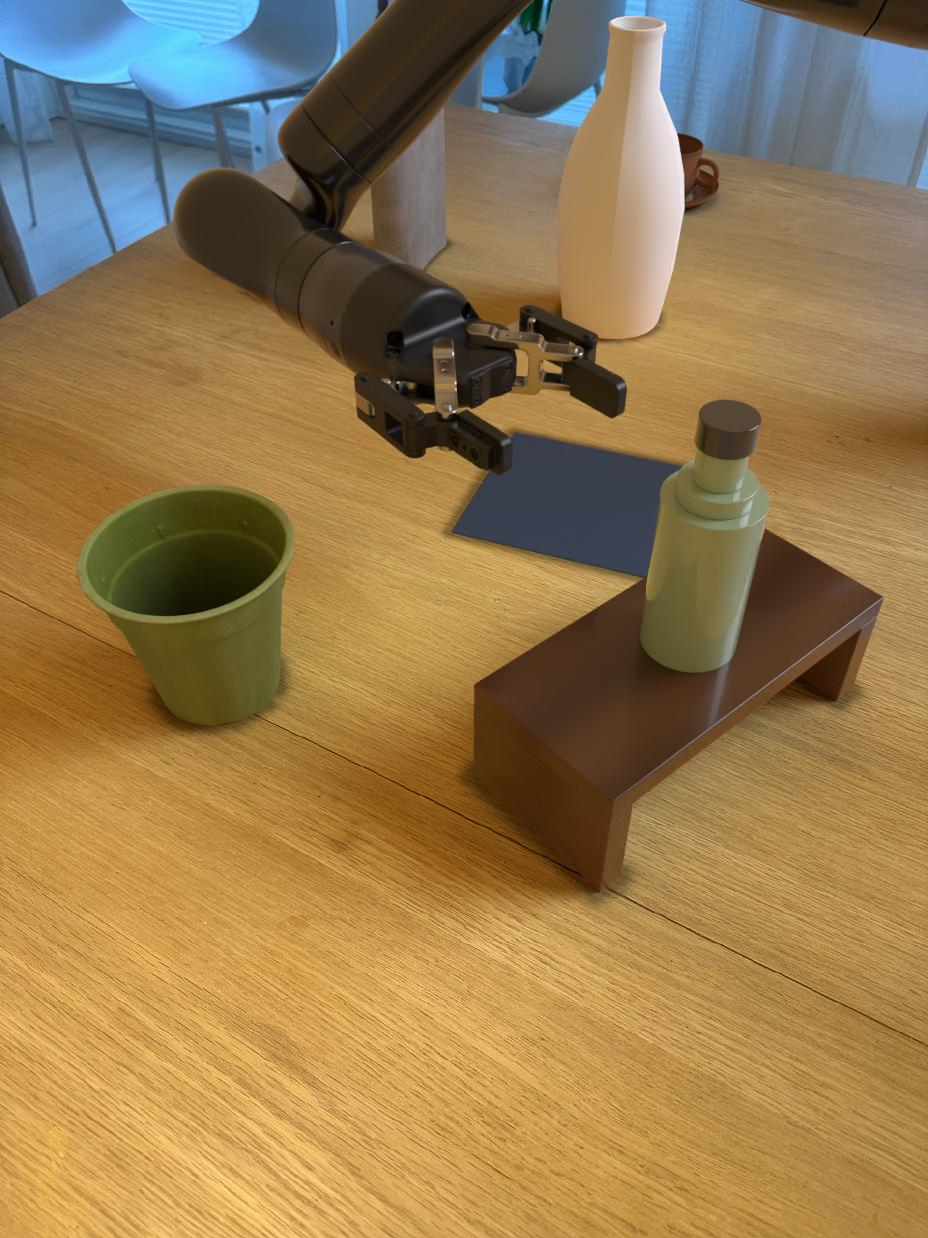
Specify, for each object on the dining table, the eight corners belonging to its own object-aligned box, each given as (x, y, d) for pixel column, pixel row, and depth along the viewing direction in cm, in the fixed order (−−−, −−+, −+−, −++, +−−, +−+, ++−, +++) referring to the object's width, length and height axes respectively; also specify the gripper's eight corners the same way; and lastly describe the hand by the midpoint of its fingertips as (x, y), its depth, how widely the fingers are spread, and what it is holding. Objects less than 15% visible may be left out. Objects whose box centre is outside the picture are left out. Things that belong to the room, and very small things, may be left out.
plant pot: (157, 617, 70) (118, 478, 63) (332, 628, 69) (314, 489, 62) (94, 753, 62) (40, 612, 54) (292, 769, 61) (266, 627, 53)
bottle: (586, 359, 95) (611, 49, 78) (531, 307, 102) (542, 13, 85) (691, 334, 98) (737, 31, 81) (630, 285, 106) (660, -2, 88)
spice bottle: (744, 619, 58) (797, 397, 48) (726, 683, 54) (779, 457, 45) (651, 597, 59) (685, 377, 50) (628, 658, 56) (660, 434, 46)
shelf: (473, 780, 60) (473, 684, 55) (723, 610, 70) (743, 515, 65) (599, 897, 54) (613, 802, 49) (850, 693, 65) (885, 596, 59)
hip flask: (405, 309, 102) (393, 88, 89) (365, 305, 103) (348, 84, 89) (450, 243, 113) (446, 37, 100) (414, 239, 114) (405, 34, 101)
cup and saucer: (718, 183, 125) (727, 129, 121) (713, 223, 117) (722, 166, 112) (618, 175, 127) (623, 122, 123) (605, 214, 119) (609, 158, 114)
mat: (709, 476, 82) (710, 471, 81) (668, 588, 72) (669, 582, 72) (514, 436, 86) (514, 431, 86) (451, 537, 76) (451, 531, 76)
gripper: (282, 299, 60) (466, 415, 51) (472, 231, 67) (664, 323, 58) (297, 413, 65) (467, 537, 56) (472, 339, 72) (649, 440, 63)
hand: (567, 429), depth 57 cm, fingers open, 8 cm apart
